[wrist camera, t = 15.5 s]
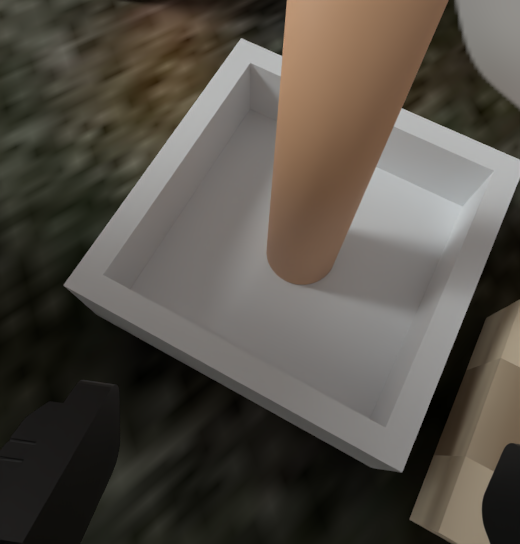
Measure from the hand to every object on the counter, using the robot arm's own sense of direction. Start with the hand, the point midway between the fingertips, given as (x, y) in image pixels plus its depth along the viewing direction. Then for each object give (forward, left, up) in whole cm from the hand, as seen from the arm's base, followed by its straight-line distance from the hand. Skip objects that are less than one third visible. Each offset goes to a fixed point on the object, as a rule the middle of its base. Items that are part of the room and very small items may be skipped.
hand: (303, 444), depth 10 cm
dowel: (-3, +7, -9) cm, 12 cm away
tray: (-3, +8, -10) cm, 13 cm away
